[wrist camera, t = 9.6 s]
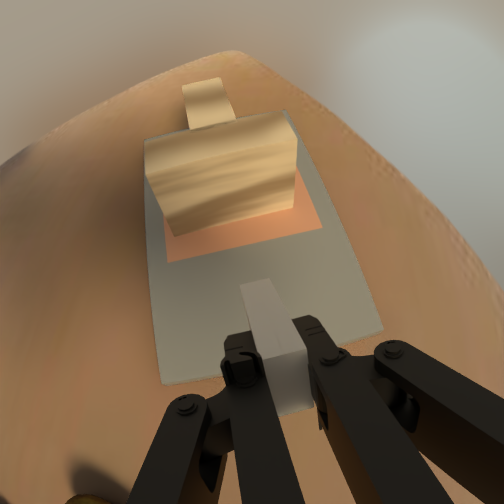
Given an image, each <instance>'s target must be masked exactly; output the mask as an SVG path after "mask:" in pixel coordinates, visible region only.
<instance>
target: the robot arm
mask: <svg viewBox="0 0 504 504" xmlns="http://www.w3.org/2000/svg"><path fill="white" fill-rule="evenodd" d="M240 289H241V294H242V298H243V303H244V307H245V311H246V316H247V320H248V324H249V329H250V330H249V331H245V332H241V333H236V334H232V335H228V336H227V338H226V340H225V341H224V350H225V357H224V358H223V359H222V361H221V363H220V368H221V371H222V374H223V378H224V381H225V384H226V387H225V388H224V389H223V390H222V391H221V392H220V393H218V394H217V395H215V396H213V397H210V398H208V399H206V400H205V398H204V397H202V396H200V395H197V394H187V395H183V396H180V397H178V398H176V399H175V400H173V401H172V402H171V403H170V405H169V406H168V407H167V410H166V412H165V414H164V417H163V419H162V421H161V423H160V426H159V428H158V430H157V433H156V435H155V437H154V439H153V442H152V444H151V446H150V449H149V451H148V453H147V456H146V458H145V460H144V463H143V465H142V467H141V470H140V472H139V474H138V477H137V479H136V481H135V484H134V486H133V488H132V491H131V493H130V495H129V498H128V500H127V502H126V504H218V500H219V495H220V490H221V485H222V481H223V476H224V471H225V466H226V461H227V457H228V456H227V453H228V452H230V451H233V450H234V452H235V459H236V466H237V473H238V480H239V486H240V493H241V499H242V504H305V501H304V498H303V495H302V492H301V489H300V486H299V482H298V479H297V476H296V473H295V470H294V466H293V463H292V460H291V457H290V454H289V450H288V447H287V444H286V441H285V437H284V434H283V431H282V428H281V424H280V421H279V418H278V417H280V416H284V415H288V414H292V413H295V412H299V411H303V410H306V409H310V408H313V407H314V402H313V399H314V401H315V404H316V406H317V413H318V422H319V430H322V427H323V429H324V432H325V434H326V436H327V438H328V441H329V443H330V445H331V448H332V450H333V452H334V454H335V457H336V459H337V461H338V463H339V466H340V468H341V470H342V473H343V475H344V477H345V479H346V482H347V484H348V486H349V488H350V491H351V493H352V495H353V497H354V500H355V502H356V504H454V503H453V501H452V500H451V498H450V497H449V495H448V494H447V492H446V491H445V489H444V488H443V486H442V485H441V483H440V482H439V480H438V479H437V478H436V476H435V475H434V473H433V472H432V470H431V469H430V467H429V466H428V464H427V463H426V461H425V460H424V458H423V457H422V456H421V454H420V453H419V451H420V452H421V453H422V454H423V455H424V456H426V457H427V458H428V459H429V460H431V461H432V462H433V463H434V464H435V465H437V466H438V467H439V468H440V469H442V470H443V471H444V472H445V473H447V474H448V475H449V476H450V477H451V478H453V479H454V480H455V481H456V482H458V483H459V484H460V485H462V486H463V487H464V488H465V489H467V490H468V491H469V492H470V493H472V494H473V495H474V496H475V497H477V498H478V499H479V500H481V501H482V502H483V503H485V504H504V399H503V398H501V397H499V396H498V395H496V394H494V393H493V392H491V391H489V390H487V389H486V388H484V387H482V386H480V385H479V384H477V383H475V382H474V381H472V380H470V379H468V378H467V377H465V376H463V375H462V374H460V373H458V372H456V371H455V370H453V369H451V368H449V367H448V366H446V365H444V364H443V363H441V362H439V361H437V360H436V359H434V358H432V357H430V356H429V355H427V354H425V353H424V352H422V351H420V350H418V349H417V348H415V347H413V346H412V345H410V344H408V343H406V342H403V341H400V340H389V341H385V342H383V343H380V344H379V345H378V346H377V347H376V348H375V350H374V355H368V356H351V354H350V353H349V352H348V351H347V350H345V349H342V348H339V347H337V346H336V344H335V343H334V341H333V340H332V338H331V337H330V335H329V334H328V333H327V331H326V330H325V328H324V327H323V326H322V324H321V322H320V321H319V320H318V319H317V318H315V317H313V316H311V315H306V316H302V317H298V318H294V319H291V318H290V316H289V314H288V312H287V310H286V309H285V307H284V305H283V303H282V301H281V299H280V297H279V295H278V294H277V292H276V290H275V288H274V286H273V284H272V282H271V281H270V279H269V278H267V279H262V280H258V281H254V282H249V283H245V284H241V285H240Z"/></svg>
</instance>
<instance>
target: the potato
mask: <svg viewBox="0 0 504 504" xmlns="http://www.w3.org/2000/svg"><path fill="white" fill-rule="evenodd" d="M66 504H112V503H110V502H108V501H105V500H103V499H101V498H99V497H96V496H94V495H88V494H83V495H76V496H73V497H72V498H70V499H69V500H68V501H67V502H66Z"/></svg>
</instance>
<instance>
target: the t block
mask: <svg viewBox="0 0 504 504" xmlns="http://www.w3.org/2000/svg"><path fill="white" fill-rule="evenodd" d="M182 91H183V96H184V102H185V107H186V112H187V118H188V123H189V128H190V130H187V131H183V132H179V133H176V134H172V135H168V136H165V137H161V138H158V139H154V140H151V141H147V142H144V150H145V175H146V177H147V179H148V181H149V184H150V186H151V188H152V190H153V192H154V195H155V197H156V199H157V201H158V203H159V206H160V208H161V210H162V212H163V214H164V216H165V218H166V220H167V223H168V225H169V227H170V229H171V231H172V233H173V235H174V237H176V236H180V235H183V234H187V233H191V232H195V231H199V230H203V229H207V228H211V227H215V226H219V225H223V224H227V223H231V222H235V221H239V220H243V219H247V218H251V217H256V216H260V215H264V214H268V213H272V212H277V211H281V210H285V209H289V208H293V204H294V189H295V174H296V158H297V140H298V139H297V137H296V135H295V133H294V132H293V130H292V128H291V126H290V124H289V123H288V121H287V119H286V117H285V116H284V114H283V112H282V111H277V112H272V113H266V114H260V115H255V116H250V117H245V118H240V119H236V117H235V114H234V112H233V109H232V107H231V104H230V102H229V99H228V96H227V94H226V91H225V89H224V86H223V84H222V81H221V79H220V77H218V78H213V79H209V80H204V81H200V82H195V83H191V84H187V85H183V86H182Z"/></svg>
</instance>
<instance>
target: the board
mask: <svg viewBox="0 0 504 504" xmlns="http://www.w3.org/2000/svg"><path fill="white" fill-rule="evenodd" d="M281 111H282V112H283V114H284V116H285V117H286V119H287V121H288V123H289V124H290V126H291V128H292V130H293V132H294V133H295V135H296V137H297V139H298V140H297V158H296V174H295V189H294V204H293V208H289V209H285V210H281V211H277V212H272V213H268V214H264V215H260V216H256V217H251V218H247V219H243V220H239V221H235V222H231V223H227V224H223V225H219V226H215V227H211V228H207V229H203V230H199V231H195V232H191V233H187V234H183V235H180V236H176V237H174V235H173V233H172V231H171V229H170V227H169V225H168V223H167V220H166V218H165V216H164V214H163V212H162V210H161V208H160V206H159V203H158V201H157V199H156V197H155V195H154V192H153V190H152V188H151V186H150V184H149V181H148V179H147V177H146V175H145V150H144V204H145V230H146V248H147V263H148V276H149V288H150V299H151V309H152V318H153V326H154V335H155V343H156V350H157V357H158V364H159V371H160V377H161V384H163V385H166V386H170V385H176V384H182V383H188V382H194V381H199V380H205V379H210V378H215V377H220V376H223V374H222V371H221V368H220V363H221V361H222V359H223V358H224V357H225V350H224V341H225V340H226V338H227V336H228V335H232V334H236V333H241V332H245V331H249V330H250V329H249V324H248V320H247V316H246V311H245V307H244V303H243V298H242V294H241V289H240V285H241V284H245V283H249V282H254V281H258V280H262V279H267V278H269V279H270V281H271V282H272V284H273V286H274V288H275V290H276V292H277V294H278V295H279V297H280V299H281V301H282V303H283V305H284V307H285V309H286V310H287V312H288V314H289V316H290V318H291V319H294V318H298V317H302V316H306V315H311V316H313V317H315V318H317V319H318V320H319V321H320V322H321V324H322V326H323V327H324V328H325V330H326V331H327V333H328V334H329V335H330V337H331V338H332V340H333V341H334V343H335V344H336V346H337V347H340V346H343V345H346V344H350V343H353V342H356V341H359V340H362V339H365V338H368V337H371V336H374V335H377V334H379V333H380V332H382V331H383V330H384V328H383V326H382V323H381V320H380V317H379V314H378V312H377V309H376V306H375V304H374V301H373V298H372V296H371V293H370V291H369V288H368V285H367V283H366V280H365V278H364V275H363V273H362V270H361V268H360V265H359V263H358V260H357V258H356V256H355V253H354V251H353V248H352V246H351V244H350V241H349V239H348V237H347V234H346V232H345V230H344V227H343V225H342V223H341V221H340V218H339V216H338V214H337V212H336V209H335V207H334V205H333V203H332V201H331V198H330V196H329V194H328V192H327V190H326V188H325V186H324V184H323V181H322V179H321V177H320V175H319V173H318V171H317V169H316V167H315V165H314V163H313V161H312V159H311V157H310V155H309V153H308V151H307V149H306V147H305V145H304V143H303V141H302V139H301V137H300V135H299V133H298V131H297V129H296V128H295V126H294V124H293V122H292V120H291V118H290V116H289V114H288V113H287V111H286V110H281ZM275 112H277V111H275ZM268 113H272V112H268ZM262 114H266V113H262ZM256 115H260V114H256ZM250 116H255V115H250ZM250 116H245V117H250ZM245 117H239V118H236V119H240V118H245ZM187 130H190V128H188V129H184V130H179V131H175V132H171V133H168V134H164V135H160V136H156V137H152V138H149V139H145V140H144V142H147V141H151V140H154V139H158V138H161V137H165V136H168V135H172V134H176V133H179V132H183V131H187Z"/></svg>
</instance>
